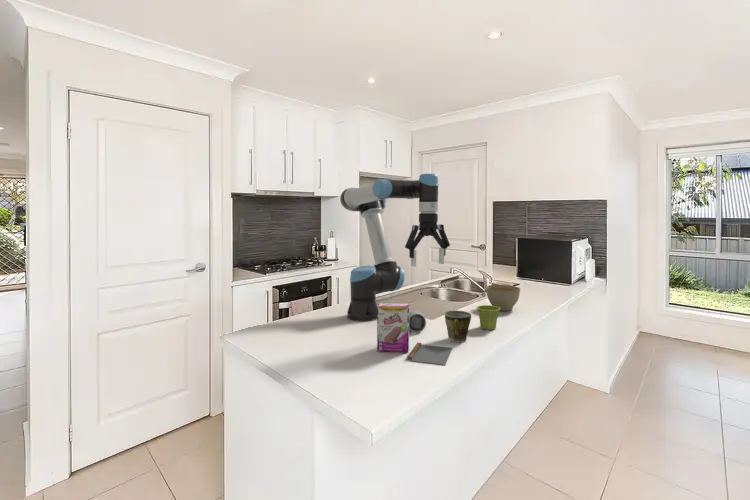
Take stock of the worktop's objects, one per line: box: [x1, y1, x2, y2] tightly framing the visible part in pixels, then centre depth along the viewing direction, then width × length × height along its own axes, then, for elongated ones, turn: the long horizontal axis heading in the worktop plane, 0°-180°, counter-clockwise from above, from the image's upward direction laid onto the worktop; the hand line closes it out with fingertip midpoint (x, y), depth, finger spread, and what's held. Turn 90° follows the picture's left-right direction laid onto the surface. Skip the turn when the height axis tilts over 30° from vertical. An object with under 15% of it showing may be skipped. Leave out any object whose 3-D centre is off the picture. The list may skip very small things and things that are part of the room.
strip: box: [407, 342, 422, 361], centre depth 131 cm, size 2×14×1 cm, turn 160°
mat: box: [410, 343, 453, 366], centre depth 129 cm, size 11×16×1 cm
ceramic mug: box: [409, 310, 427, 333], centre depth 157 cm, size 11×8×8 cm
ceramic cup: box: [444, 309, 472, 343], centre depth 142 cm, size 13×10×10 cm
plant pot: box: [476, 304, 501, 331], centre depth 158 cm, size 9×9×9 cm
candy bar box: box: [376, 302, 410, 353], centre depth 133 cm, size 11×5×16 cm, turn 84°
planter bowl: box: [485, 284, 521, 312], centre depth 189 cm, size 16×16×11 cm
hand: (427, 265), depth 155 cm, fingers open, 13 cm apart
